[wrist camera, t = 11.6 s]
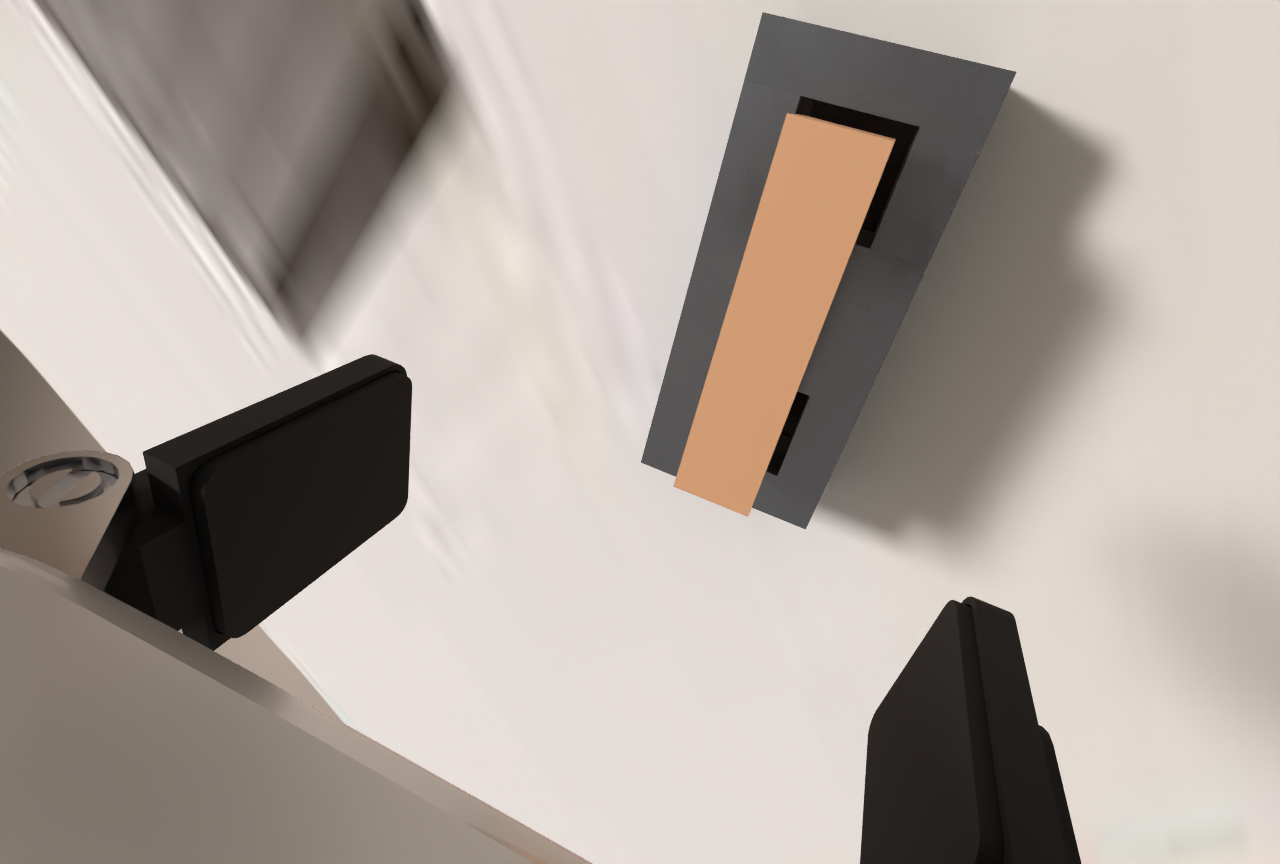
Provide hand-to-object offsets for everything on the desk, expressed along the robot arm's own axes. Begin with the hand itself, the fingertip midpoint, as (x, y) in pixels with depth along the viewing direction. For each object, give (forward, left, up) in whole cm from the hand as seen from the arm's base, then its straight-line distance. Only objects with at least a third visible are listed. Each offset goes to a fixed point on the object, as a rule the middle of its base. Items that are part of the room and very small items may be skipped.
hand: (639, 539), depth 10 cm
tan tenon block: (0, 0, -20) cm, 20 cm away
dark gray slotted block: (0, 0, -20) cm, 20 cm away
